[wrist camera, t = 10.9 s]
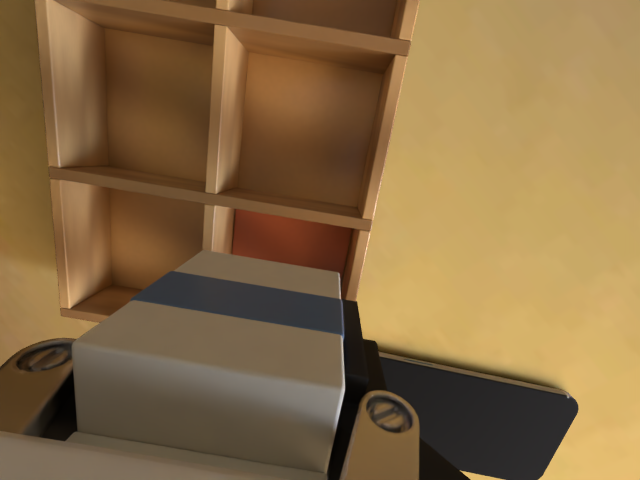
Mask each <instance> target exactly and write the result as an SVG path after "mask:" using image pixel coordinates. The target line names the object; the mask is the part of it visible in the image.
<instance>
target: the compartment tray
mask: <svg viewBox="0 0 640 480" xmlns="http://www.w3.org/2000/svg"><path fill="white" fill-rule="evenodd" d="M419 3H420V0H35V11H36V23H37V35H38V47H39V59H40V71H41V83H42V95H43V107H44V119H45V131H46V143H47V155H48V165H49V166H50V167H49V177H50V191H51V203H52V215H53V226H54V238H55V250H56V262H57V274H58V286H59V298H60V307H61V308H60V310H61V316H63V317H69V318H75V319H81V320H87V321H93V322H99V323H101V322H102V321H103V320H105V319H106V318H108V317H109V316H110V315H112V314H113V313H115V312H116V311H118V310H119V309H120V308H122V307H123V306H125V305H126V304H127V303H129V302H130V299H131V298H132V297H133V296H135V295H136V294H138V293H139V292H141V291H142V290H144V289H145V288H146V287H148V286H149V285H151V284H152V283H154V282H155V281H157V280H158V279H159V278H161V277H162V276H164V275H165V274H167V273H168V272H170V271H174V270H176V269H177V268H178V267H180V266H181V265H183V264H184V263H186V262H187V261H188V260H190V259H191V258H193V257H194V256H195V255H197V254H198V253H200V252H201V251H202V250H208V251H214V252H220V253H226V254H232V255H238V256H244V257H250V258H255V259H261V260H267V261H273V262H279V263H285V264H291V265H297V266H303V267H309V268H315V269H321V270H327V271H333V272H338V273H339V274H340V292H341V300H342V299H345V300H351V301H356V298H357V294H358V289H359V284H360V280H361V275H362V270H363V266H364V261H365V256H366V251H367V247H368V242H369V237H370V231H371V228H372V223H373V219H374V214H375V209H376V204H377V200H378V195H379V190H380V186H381V181H382V176H383V172H384V167H385V162H386V158H387V153H388V148H389V143H390V139H391V134H392V129H393V125H394V120H395V115H396V111H397V106H398V101H399V97H400V92H401V87H402V82H403V78H404V73H405V68H406V64H407V59H408V58H407V56H408V54H409V50H410V45H411V40H412V35H413V31H414V26H415V21H416V17H417V12H418V7H419Z"/></svg>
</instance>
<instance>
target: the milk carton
mask: <svg viewBox="0 0 640 480" xmlns="http://www.w3.org/2000/svg"><path fill="white" fill-rule="evenodd" d="M343 340H344V321H343V303H342V300H341V292H340V274H339V273H338V272H333V271H327V270H321V269H315V268H309V267H303V266H297V265H291V264H285V263H279V262H273V261H267V260H261V259H255V258H250V257H244V256H238V255H232V254H226V253H220V252H214V251H208V250H202V251H201V252H200V253H198V254H197V255H195V256H194V257H193V258H191V259H190V260H188V261H187V262H186V263H184V264H183V265H181V266H180V267H178V268H177V269H176V270H174V271H170V272H168V273H167V274H165V275H164V276H162V277H161V278H159V279H158V280H157V281H155V282H154V283H152V284H151V285H149V286H148V287H146V288H145V289H144V290H142V291H141V292H139V293H138V294H136V295H135V296H133V297H132V298H131V299H130V302H129V303H127V304H126V305H125V306H123V307H122V308H120V309H119V310H118V311H116V312H115V313H113V314H112V315H110V316H109V317H108V318H106V319H105V320H103V321H102V322H101V323H99V324H98V325H96V326H95V327H93V328H92V329H91V330H89V331H88V332H86V333H85V334H84V335H82V336H81V337H79V338H78V339H76V340H75V341H74V342H73V344H72V359H73V373H74V387H75V402H76V416H77V431H78V432H74V433H73V434H72V435H71V436H70V437H69V438H68V439H67V440H66V441H65V442H71V443H77V444H84V445H89V446H95V447H101V448H107V449H113V450H119V451H125V452H131V453H137V454H143V455H149V456H155V457H161V458H167V459H173V460H179V461H185V462H191V463H197V464H202V465H208V466H214V467H220V468H226V469H232V470H237V471H243V472H249V473H254V474H260V475H266V476H272V477H277V478H283V479H289V480H327V469H328V465H329V460H330V456H331V451H332V447H333V442H334V438H335V433H336V428H337V424H338V419H339V415H340V410H341V406H342V401H343V397H344V392H345V377H344V356H343Z"/></svg>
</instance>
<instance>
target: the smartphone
mask: <svg viewBox="0 0 640 480" xmlns="http://www.w3.org/2000/svg"><path fill="white" fill-rule="evenodd" d="M379 356H380V360H381V365H382V369H383V374H384V378H385V382H386V387H387V391H388V392H391V393H394V394H396V395H398V396H400V397H401V398H403V399H404V400H405V401H407V402H408V403H409V404H410V405H411V406H412V407H413V409H414V410H415V412H416V414H417V416H418V419H419V437H420V438H421V439H422V440H424V441H425V442H426V443H427V444H428V445H430V446H431V447H432V448H433V449H434V450H436V451H437V452H438V453H439V454H440V455H442V456H443V457H444V458H445V459H446V460H447V461H449V462H450V463H451V464H452V465H453V466H455V467H456V468H457V469H458V470H461V471H466V472H470V473H475V474H480V475H485V476H490V477H495V478H500V479H505V480H538V479H539V478H540V477H541V476H542V475H543V474H544V472H545V470H546V468H547V467H548V465H549V463H550V461H551V459H552V458H553V456H554V454H555V452H556V450H557V449H558V447H559V445H560V443H561V442H562V440H563V438H564V436H565V434H566V433H567V431H568V429H569V427H570V425H571V424H572V422H573V420H574V418H575V416H576V415H577V413H578V404H577V402H576V400H575V399H574V398H573V397H572V396H571V395H570V394H569V393H567V392H566V391H564V390H560V389H555V388H550V387H545V386H541V385H536V384H531V383H526V382H522V381H517V380H512V379H507V378H502V377H498V376H493V375H488V374H483V373H478V372H474V371H469V370H464V369H459V368H454V367H450V366H445V365H440V364H435V363H431V362H426V361H421V360H416V359H411V358H407V357H402V356H397V355H392V354H387V353H383V352H379Z"/></svg>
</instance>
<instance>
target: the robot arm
mask: <svg viewBox="0 0 640 480" xmlns="http://www.w3.org/2000/svg"><path fill="white" fill-rule="evenodd" d="M342 303H343V321H344V340H343V356H344V377H345V392H344V397H343V401H342V406H341V410H340V415H339V419H338V424H337V428H336V433H335V438H334V442H333V447H332V451H331V456H330V460H329V465H328V469H327V480H470V479H469V478H468V477H467V476H465V475H464V474H463V473H462V472H461V471H459V470H458V469H457V468H456V467H455V466H453V465H452V464H451V463H450V462H449V461H447V460H446V459H445V458H444V457H443V456H442V455H440V454H439V453H438V452H437V451H436V450H434V449H433V448H432V447H431V446H430V445H428V444H427V443H426V442H425V441H424V440H422V439H421V438H420V437H419V419H418V416H417V414H416V412H415V410H414V409H413V407H412V406H411V405H410V404H409V403H408V402H407V401H405V400H404V399H403V398H401V397H400V396H398V395H396V394H394V393H391V392H388V391H387V387H386V382H385V378H384V374H383V369H382V365H381V360H380V356H379V352H378V347H377V343H376V342H375V341H371V340H365V339H363V337H362V330H361V324H360V318H359V311H358V305H357V301H351V300H345V299H342ZM75 340H76V339H73V338H56V339H50V340H45V341H41V342H38V343H35V344H32V345H30V346H28V347H26V348H23V349H21V350H20V351H18V352H17V353H16V354H14V355H13V356H12V357H10V358H9V359H8V360H7V361H6V362H5V363H4V364H3V365H2V366H1V367H0V480H289V479H283V478H277V477H272V476H266V475H260V474H254V473H249V472H243V471H237V470H232V469H226V468H220V467H214V466H208V465H202V464H197V463H191V462H185V461H179V460H173V459H167V458H161V457H155V456H149V455H143V454H137V453H131V452H125V451H119V450H113V449H107V448H101V447H95V446H89V445H84V444H77V443H71V442H65V441H66V440H67V439H68V438H69V437H70V436H71V435H72V434H73V433H74V432H78V431H77V416H76V402H75V387H74V373H73V359H72V344H73V342H74V341H75Z"/></svg>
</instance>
